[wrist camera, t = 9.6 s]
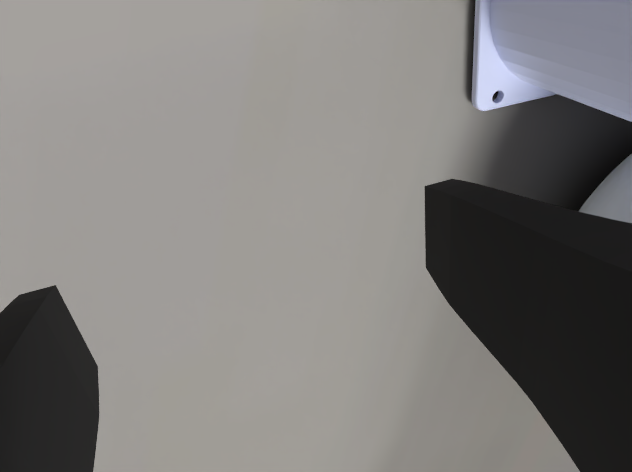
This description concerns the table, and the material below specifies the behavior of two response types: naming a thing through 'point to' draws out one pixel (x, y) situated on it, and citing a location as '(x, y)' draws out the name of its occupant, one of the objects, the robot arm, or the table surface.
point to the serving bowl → (613, 195)
